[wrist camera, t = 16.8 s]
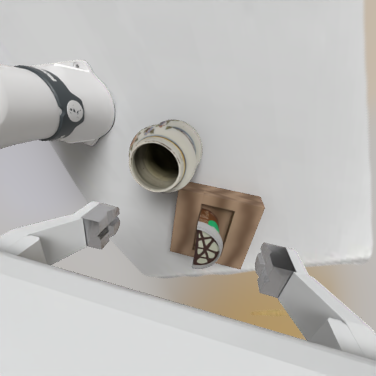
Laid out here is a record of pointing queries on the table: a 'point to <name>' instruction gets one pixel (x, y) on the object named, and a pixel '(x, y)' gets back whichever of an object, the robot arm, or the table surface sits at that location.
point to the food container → (207, 241)
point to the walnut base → (227, 218)
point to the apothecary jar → (165, 156)
